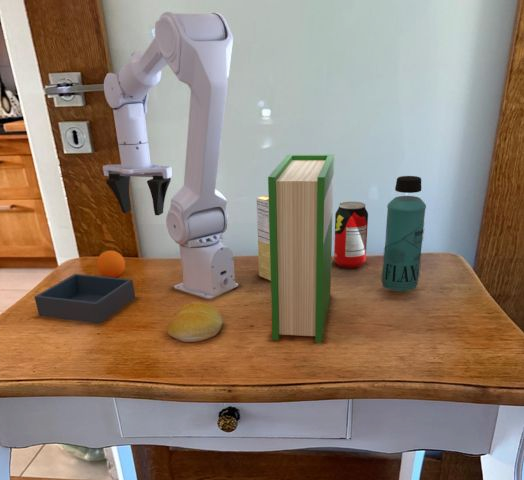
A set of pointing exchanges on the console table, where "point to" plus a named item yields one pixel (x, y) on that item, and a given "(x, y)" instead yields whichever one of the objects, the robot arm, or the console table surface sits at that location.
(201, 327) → the bread roll
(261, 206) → the candy box
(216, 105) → the robot arm
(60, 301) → the dark gray tray
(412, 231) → the beverage bottle
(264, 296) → the console table surface
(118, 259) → the orange
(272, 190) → the hardback book
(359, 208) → the beverage can
